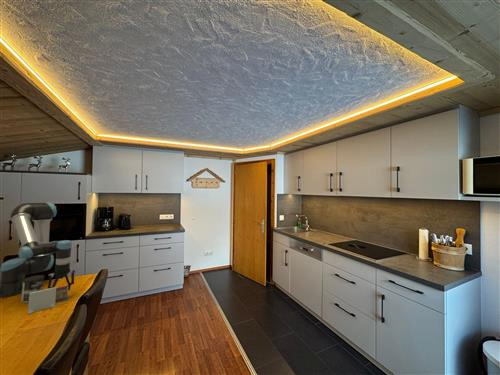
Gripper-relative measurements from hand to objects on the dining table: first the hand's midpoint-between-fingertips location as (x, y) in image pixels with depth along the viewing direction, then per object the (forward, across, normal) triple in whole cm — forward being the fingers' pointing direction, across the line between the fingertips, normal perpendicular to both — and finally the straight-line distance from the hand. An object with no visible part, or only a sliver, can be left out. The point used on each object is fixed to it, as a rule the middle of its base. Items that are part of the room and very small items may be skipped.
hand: (60, 296), depth 139 cm
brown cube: (0, 0, 0) cm, 0 cm away
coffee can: (+2, -13, +14) cm, 19 cm away
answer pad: (+2, 0, 0) cm, 2 cm away
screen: (+2, -9, -7) cm, 12 cm away
